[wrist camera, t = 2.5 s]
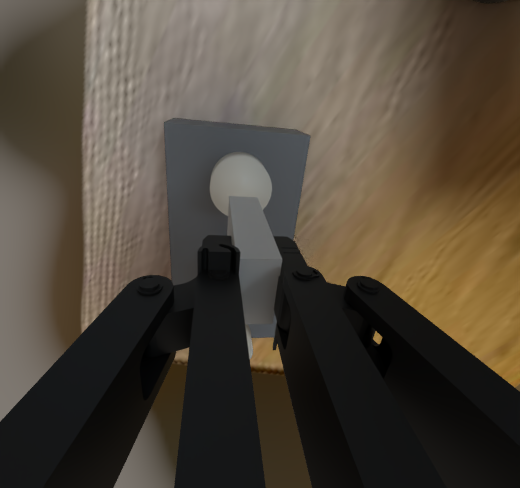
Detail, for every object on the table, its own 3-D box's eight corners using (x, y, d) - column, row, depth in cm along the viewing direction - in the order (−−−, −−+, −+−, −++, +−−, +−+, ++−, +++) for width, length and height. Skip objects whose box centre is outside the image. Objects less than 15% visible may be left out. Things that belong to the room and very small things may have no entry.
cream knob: (261, 144, 26) (275, 160, 20) (257, 191, 28) (268, 220, 22) (213, 140, 25) (210, 155, 19) (211, 188, 27) (209, 217, 21)
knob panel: (296, 129, 29) (310, 135, 24) (270, 310, 39) (277, 337, 35) (173, 118, 27) (163, 122, 23) (180, 310, 37) (174, 339, 33)
